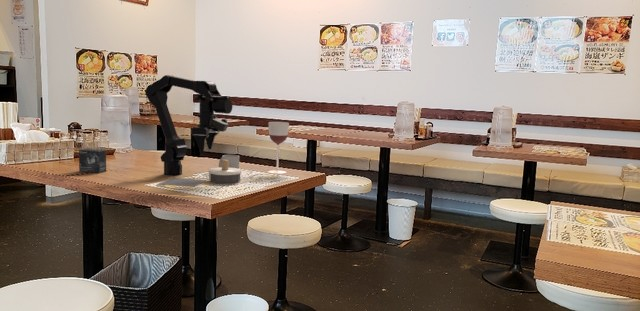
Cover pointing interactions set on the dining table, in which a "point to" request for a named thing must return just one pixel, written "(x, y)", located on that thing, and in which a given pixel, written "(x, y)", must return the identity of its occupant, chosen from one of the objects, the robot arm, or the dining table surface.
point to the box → (92, 160)
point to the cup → (230, 161)
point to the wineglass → (278, 138)
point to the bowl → (224, 178)
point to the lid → (224, 170)
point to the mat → (183, 182)
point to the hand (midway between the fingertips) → (206, 150)
